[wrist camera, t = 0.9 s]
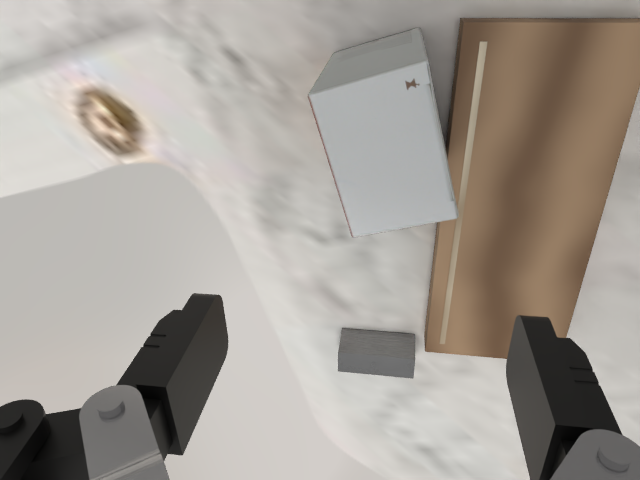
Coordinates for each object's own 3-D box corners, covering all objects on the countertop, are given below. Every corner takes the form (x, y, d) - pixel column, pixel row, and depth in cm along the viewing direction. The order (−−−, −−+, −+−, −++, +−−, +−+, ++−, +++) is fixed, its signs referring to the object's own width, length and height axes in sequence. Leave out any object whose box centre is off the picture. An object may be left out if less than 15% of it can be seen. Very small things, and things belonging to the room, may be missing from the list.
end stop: (414, 334, 42) (415, 359, 39) (412, 352, 43) (413, 378, 40) (342, 328, 42) (338, 352, 40) (342, 346, 43) (338, 371, 41)
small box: (332, 51, 32) (303, 90, 23) (421, 25, 30) (428, 55, 21) (364, 168, 35) (349, 242, 26) (445, 149, 34) (460, 221, 25)
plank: (642, 18, 28) (659, 22, 26) (551, 345, 40) (558, 364, 38) (460, 18, 30) (464, 22, 28) (424, 335, 41) (425, 352, 40)
